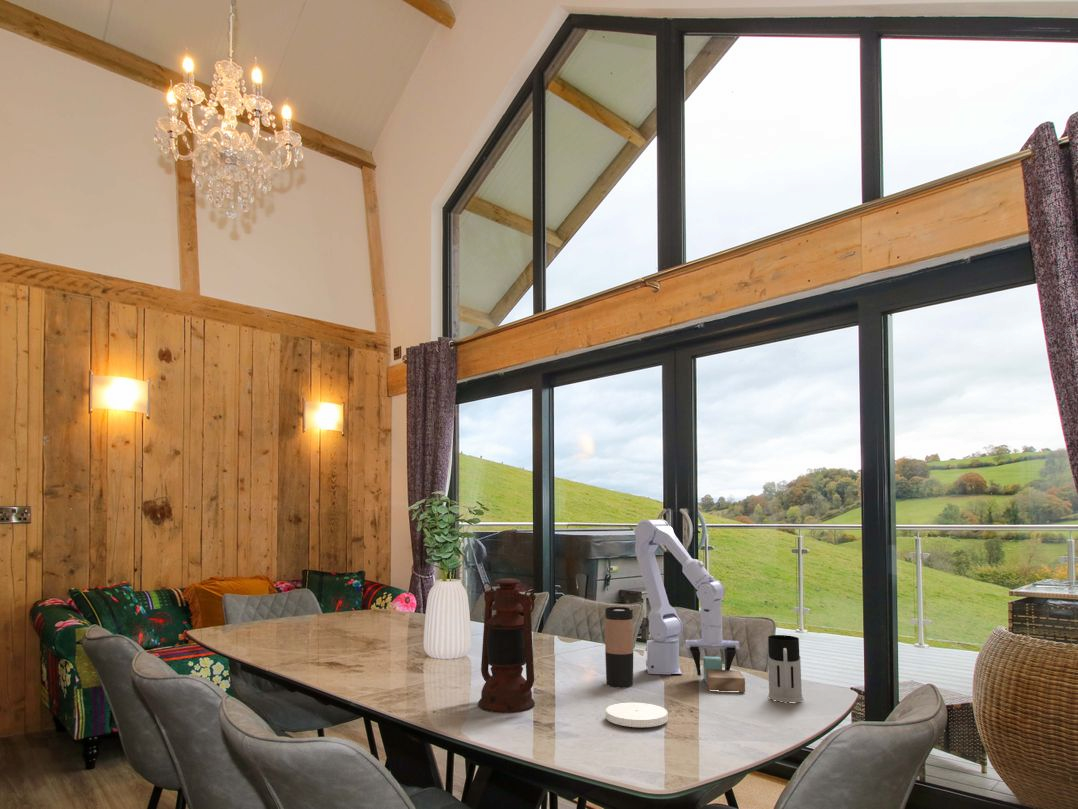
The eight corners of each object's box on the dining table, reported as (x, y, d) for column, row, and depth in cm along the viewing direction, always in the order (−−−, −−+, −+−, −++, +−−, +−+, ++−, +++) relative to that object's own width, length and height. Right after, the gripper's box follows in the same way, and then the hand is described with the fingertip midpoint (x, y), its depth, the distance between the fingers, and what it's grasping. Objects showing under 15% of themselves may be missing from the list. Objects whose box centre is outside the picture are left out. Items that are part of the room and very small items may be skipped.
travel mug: (601, 685, 200) (600, 609, 202) (611, 679, 206) (611, 606, 209) (627, 689, 196) (627, 611, 199) (637, 683, 203) (637, 608, 205)
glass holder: (802, 695, 191) (800, 635, 192) (806, 710, 177) (804, 645, 179) (767, 693, 193) (765, 633, 195) (768, 707, 179) (766, 643, 181)
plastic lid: (627, 710, 178) (627, 699, 178) (679, 721, 169) (679, 709, 170) (593, 723, 167) (593, 711, 168) (647, 736, 159) (647, 724, 159)
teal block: (706, 682, 204) (705, 659, 205) (703, 678, 208) (703, 656, 209) (722, 682, 204) (722, 660, 204) (720, 678, 208) (719, 656, 209)
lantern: (461, 704, 181) (463, 579, 185) (500, 693, 192) (501, 574, 195) (514, 718, 170) (515, 584, 174) (552, 705, 180) (552, 579, 184)
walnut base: (709, 693, 194) (709, 677, 194) (706, 684, 203) (705, 669, 203) (745, 694, 193) (744, 678, 193) (739, 685, 202) (739, 670, 202)
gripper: (687, 626, 205) (688, 677, 203) (740, 627, 203) (742, 679, 202) (684, 622, 211) (685, 672, 210) (736, 623, 210) (737, 673, 209)
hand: (712, 675), depth 206 cm, fingers open, 7 cm apart
